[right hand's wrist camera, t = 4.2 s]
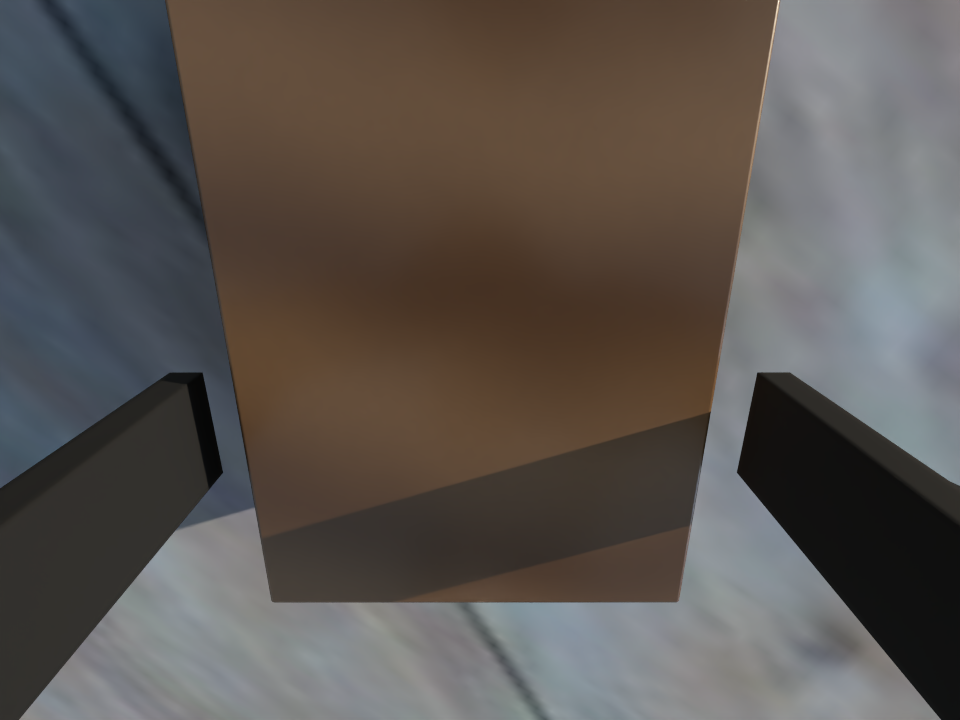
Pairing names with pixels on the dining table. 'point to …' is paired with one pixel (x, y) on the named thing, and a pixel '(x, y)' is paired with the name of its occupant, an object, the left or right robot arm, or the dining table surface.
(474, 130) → the cabinet
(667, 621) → the dining table surface
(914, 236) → the dining table surface
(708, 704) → the dining table surface
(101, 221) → the dining table surface
